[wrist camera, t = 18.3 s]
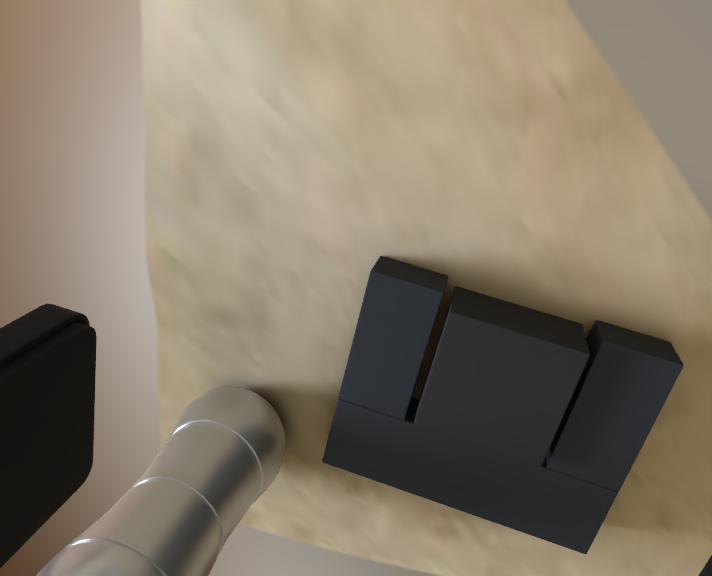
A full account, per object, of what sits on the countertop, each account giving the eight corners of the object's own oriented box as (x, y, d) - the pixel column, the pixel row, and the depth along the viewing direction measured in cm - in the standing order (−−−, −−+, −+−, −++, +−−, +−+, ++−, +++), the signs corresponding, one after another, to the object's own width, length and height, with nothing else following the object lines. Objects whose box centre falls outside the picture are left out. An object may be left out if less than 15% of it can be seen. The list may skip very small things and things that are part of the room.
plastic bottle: (283, 370, 35) (45, 695, 17) (305, 467, 38) (115, 849, 19) (186, 375, 37) (-121, 675, 19) (213, 468, 39) (-41, 818, 21)
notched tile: (380, 255, 32) (370, 270, 29) (670, 342, 30) (684, 364, 27) (333, 437, 36) (321, 462, 34) (581, 522, 34) (586, 555, 32)
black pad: (455, 285, 31) (449, 310, 28) (582, 323, 30) (591, 354, 27) (422, 391, 34) (413, 425, 31) (537, 429, 33) (541, 468, 30)
